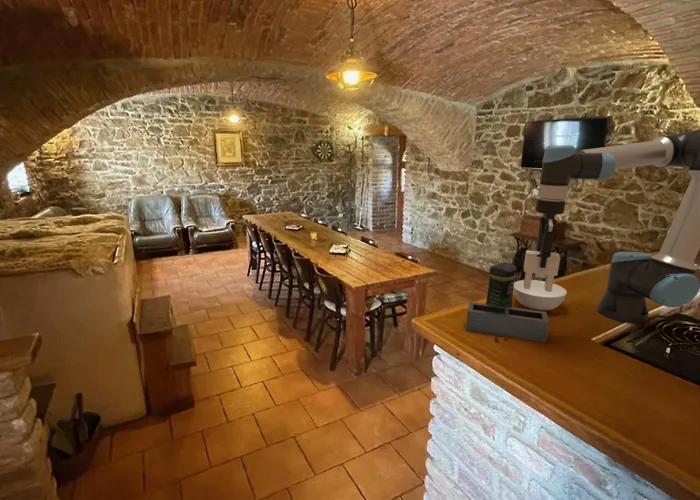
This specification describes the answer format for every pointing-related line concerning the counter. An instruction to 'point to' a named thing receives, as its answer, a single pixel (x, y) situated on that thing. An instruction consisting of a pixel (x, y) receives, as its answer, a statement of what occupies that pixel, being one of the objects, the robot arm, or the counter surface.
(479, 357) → the counter surface
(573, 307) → the counter surface
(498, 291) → the coffee jar
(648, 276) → the robot arm
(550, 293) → the bowl
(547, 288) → the tall white notched block
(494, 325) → the grey rectangular trough
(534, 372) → the counter surface
